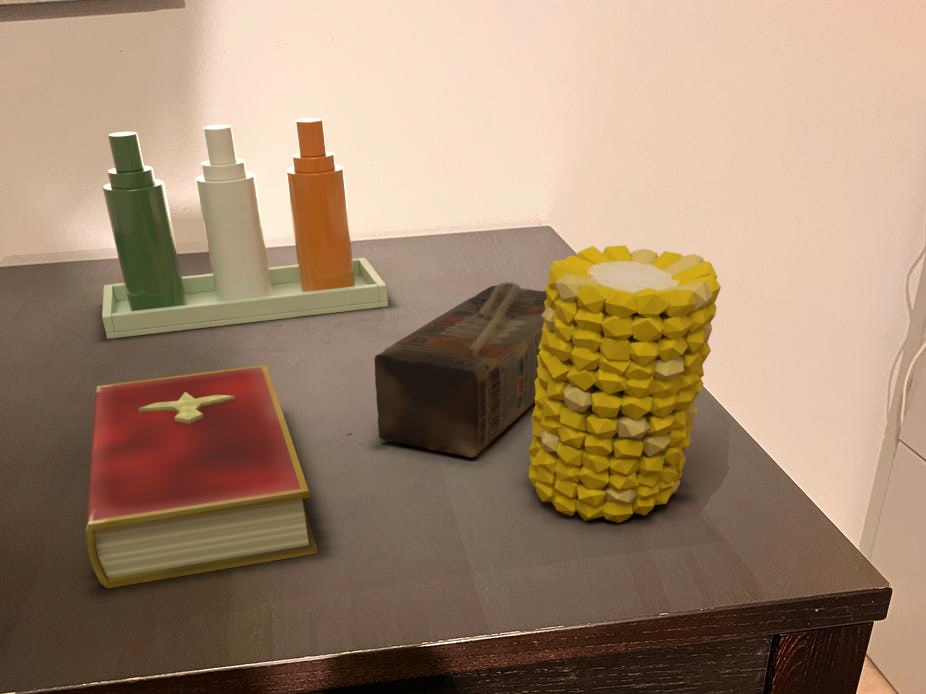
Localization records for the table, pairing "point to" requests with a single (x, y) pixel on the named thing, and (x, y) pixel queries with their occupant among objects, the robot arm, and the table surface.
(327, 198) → the amber bottle
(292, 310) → the tray
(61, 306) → the table surface
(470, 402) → the beverage carton
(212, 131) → the frosted bottle
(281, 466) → the hardcover book
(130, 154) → the green bottle
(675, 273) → the food
